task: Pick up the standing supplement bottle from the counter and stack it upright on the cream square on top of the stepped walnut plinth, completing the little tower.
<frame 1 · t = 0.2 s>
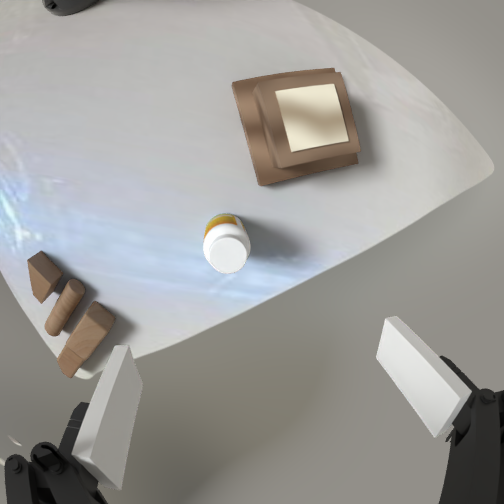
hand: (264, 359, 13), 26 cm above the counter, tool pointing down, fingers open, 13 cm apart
plinth: (295, 123, 34), on the counter
wooden block set: (60, 312, 39), on the counter
supplement bottle: (224, 231, 38), on the counter
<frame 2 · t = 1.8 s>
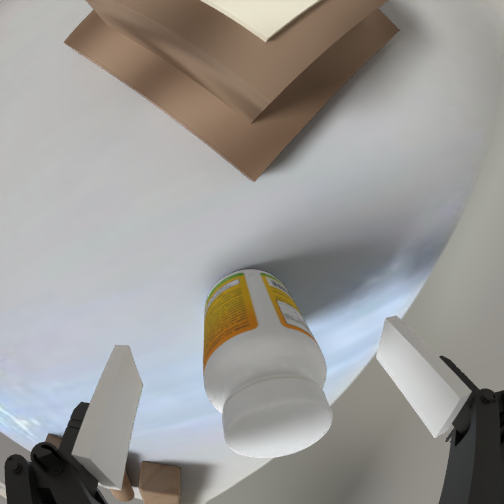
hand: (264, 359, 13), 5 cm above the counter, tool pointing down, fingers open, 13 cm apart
plinth: (237, 21, 12), on the counter
wooden block set: (119, 474, 24), on the counter
supplement bottle: (247, 305, 17), on the counter
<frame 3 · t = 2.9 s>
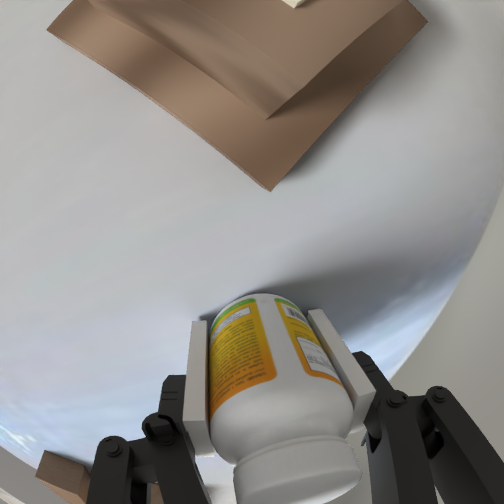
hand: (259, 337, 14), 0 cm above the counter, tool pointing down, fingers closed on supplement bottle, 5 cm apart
plinth: (246, 3, 9), on the counter
wooden block set: (118, 490, 22), on the counter
supplement bottle: (257, 331, 15), on the counter, touching gripper
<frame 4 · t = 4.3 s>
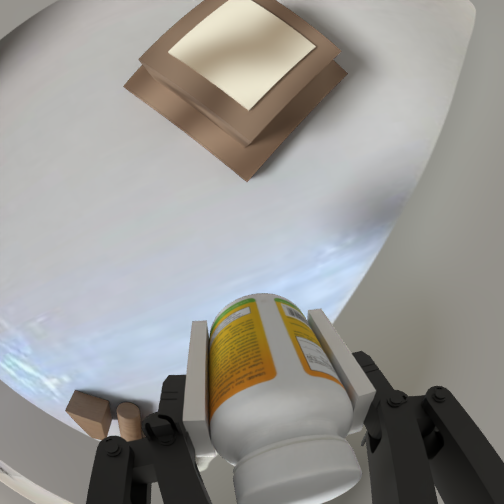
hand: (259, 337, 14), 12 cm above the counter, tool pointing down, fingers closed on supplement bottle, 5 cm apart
plinth: (236, 76, 21), on the counter
wooden block set: (132, 432, 33), on the counter
supplement bottle: (257, 331, 15), point 12 cm above the counter, touching gripper
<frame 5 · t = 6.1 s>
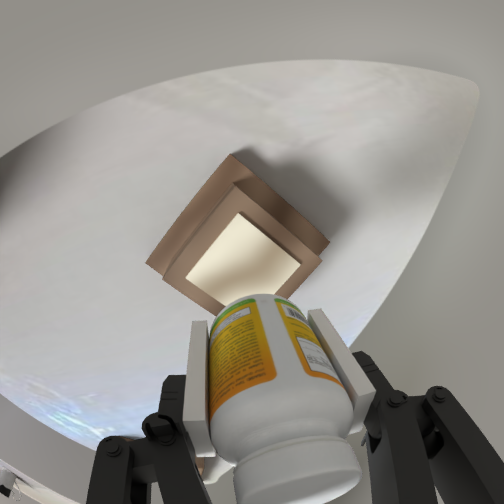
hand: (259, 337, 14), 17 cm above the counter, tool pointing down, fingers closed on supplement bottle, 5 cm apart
plinth: (237, 246, 30), on the counter
glass holder: (14, 475, 50), on the counter
supplement bottle: (257, 332, 15), point 16 cm above the counter, touching gripper
when the fingers open (9 cm above the counter, at t = 7.7 s): supplement bottle drops 1 cm, resting on plinth.
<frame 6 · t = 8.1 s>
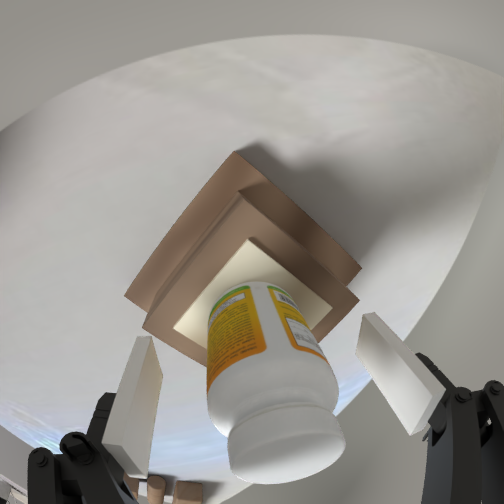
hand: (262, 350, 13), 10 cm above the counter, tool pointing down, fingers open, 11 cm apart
plinth: (243, 273, 23), on the counter
glass holder: (9, 485, 43), on the counter
wooden block set: (154, 487, 36), on the counter
supplement bottle: (252, 318, 16), point 7 cm above the counter, touching plinth
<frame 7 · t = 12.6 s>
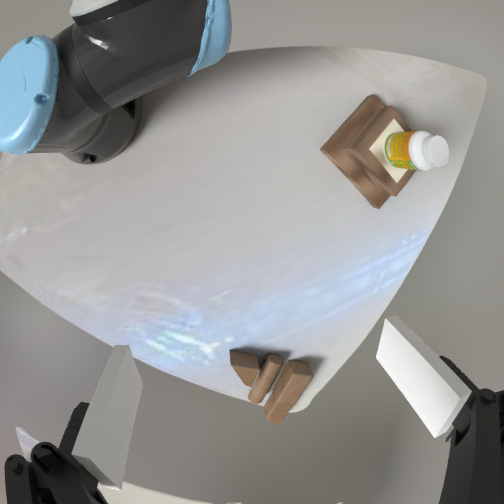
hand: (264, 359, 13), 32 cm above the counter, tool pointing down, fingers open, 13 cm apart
plinth: (372, 150, 42), on the counter
wooden block set: (256, 382, 54), on the counter
supplement bottle: (395, 150, 35), point 7 cm above the counter, touching plinth
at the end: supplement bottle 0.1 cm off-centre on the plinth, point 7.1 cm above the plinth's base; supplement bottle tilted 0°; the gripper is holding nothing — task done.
